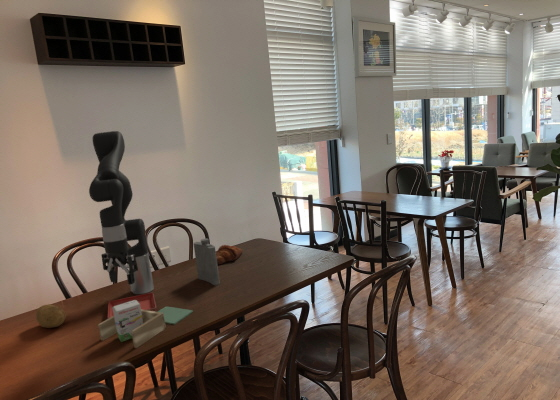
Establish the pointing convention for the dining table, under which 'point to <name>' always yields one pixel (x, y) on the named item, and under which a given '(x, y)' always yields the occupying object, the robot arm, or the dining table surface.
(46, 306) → the potato
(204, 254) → the hip flask
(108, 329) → the beige u-shaped bracket
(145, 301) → the plant saucer
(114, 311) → the ink box
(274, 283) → the dining table surface
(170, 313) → the mat
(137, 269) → the robot arm
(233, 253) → the pastry
